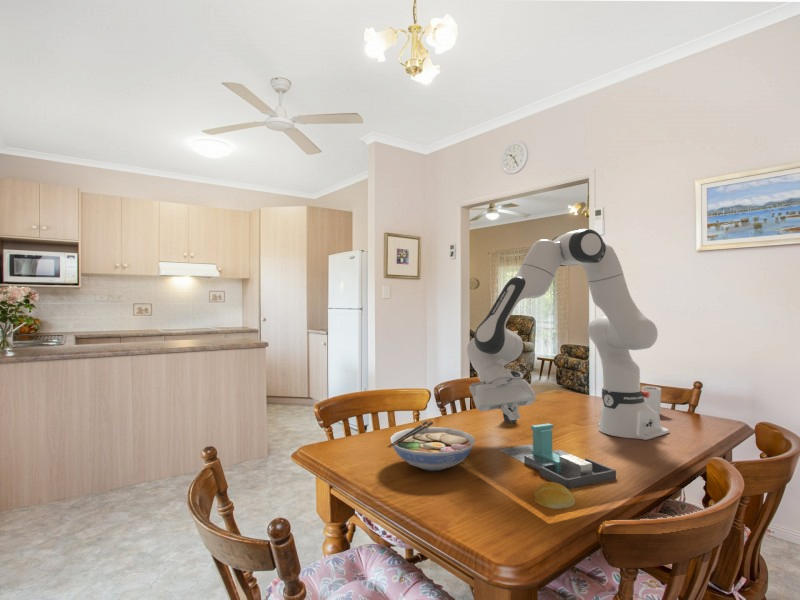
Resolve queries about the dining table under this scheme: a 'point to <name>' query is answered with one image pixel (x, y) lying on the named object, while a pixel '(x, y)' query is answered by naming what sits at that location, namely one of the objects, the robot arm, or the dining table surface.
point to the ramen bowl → (432, 446)
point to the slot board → (531, 457)
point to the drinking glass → (653, 398)
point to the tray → (597, 476)
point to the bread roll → (553, 496)
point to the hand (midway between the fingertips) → (515, 418)
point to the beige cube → (566, 463)
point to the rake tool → (544, 444)
